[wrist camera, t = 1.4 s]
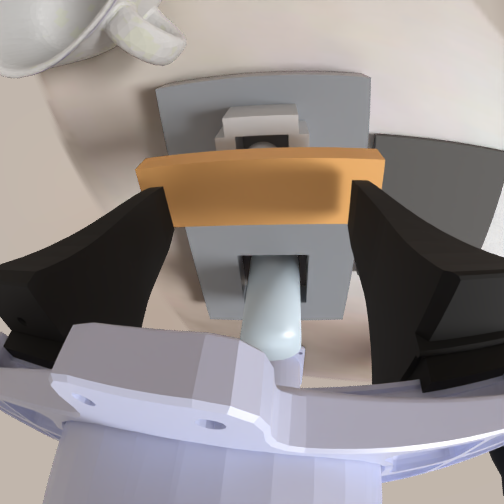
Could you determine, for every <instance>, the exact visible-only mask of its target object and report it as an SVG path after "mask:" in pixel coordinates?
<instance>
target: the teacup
mask: <svg viewBox="0 0 504 504" xmlns="http://www.w3.org/2000/svg"><path fill="white" fill-rule="evenodd" d="M161 1H162V0H0V75H1V76H3V77H4V76H5V77H8V78H22V77H26V76H31V75H35V74H38V73H40V72H43V71H45V70H47V69H49V68H52V67H57V66H61V65H66V64H70V63H74V62H77V61H81V60H85V59H88V58H91V57H94V56H97V55H99V54H102V53H104V52H106V51H108V50H110V49H112V48H114V47H116V46H119V47H120V48H121V49H123V50H124V51H126V52H127V53H129V54H130V55H132V56H134V57H136V58H138V59H140V60H142V61H144V62H147V63H150V64H153V65H161V66H164V65H167V64H170V63H171V62H173V61H174V60H175V59H176V58H177V57H178V56H179V55H180V54H181V52H182V51H183V50H184V48H185V46H186V38H185V36H184V34H183V33H182V32H181V31H180V30H179V28H178V27H177V26H176V25H174V24H173V23H172V22H171V21H170V20H169V19H168V18H166V17H165V16H164V15H163V14H162V12H161V11H160V10H159V9H158V6H159V4H160V3H161Z"/></svg>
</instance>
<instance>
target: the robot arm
mask: <svg viewBox="0 0 504 504" xmlns="http://www.w3.org/2000/svg"><path fill="white" fill-rule="evenodd" d="M347 226H348V232H349V239H350V245H351V249H352V253H353V256H354V260H355V263H356V266H357V270H358V273H359V277H360V280H361V284H362V288H363V291H364V296H365V300H366V306H367V314H368V322H369V331H370V342H371V358H372V385H362V386H348V387H327V388H300V385H301V383H302V375H303V366H304V356H305V347H303V346H301V349H300V350H299V352H298V353H297V354H295V355H294V356H292V357H290V358H287V359H284V360H277V361H269V359H268V358H267V356H266V355H265V353H264V352H262V351H261V350H260V349H258V348H256V347H254V346H252V345H250V344H248V343H246V342H244V341H242V340H240V339H239V338H235V337H230V336H224V335H219V334H214V333H209V332H192V331H176V330H163V329H149V328H142V323H143V319H144V314H145V311H146V307H147V303H148V300H149V297H150V294H151V291H152V289H153V286H154V284H155V282H156V279H157V277H158V274H159V272H160V270H161V267H162V265H163V263H164V260H165V258H166V255H167V253H168V251H169V248H170V244H171V241H172V236H173V232H174V226H173V222H172V218H171V214H170V211H169V207H168V203H167V199H166V195H165V191H164V188H163V186H162V187H151V188H148V189H145V190H143V191H141V192H140V193H138V194H136V195H135V196H133V197H131V198H130V199H128V200H127V201H125V202H124V203H122V204H121V205H119V206H118V207H116V208H115V209H113V210H112V211H110V212H109V213H107V214H106V215H104V216H103V217H101V218H99V219H98V220H96V221H95V222H93V223H92V224H90V225H88V226H87V227H85V228H84V229H82V230H80V231H78V232H76V233H75V234H73V235H71V236H69V237H67V238H65V239H63V240H61V241H59V242H57V243H55V244H53V245H51V246H49V247H46V248H44V249H42V250H40V251H37V252H34V253H32V254H29V255H27V256H24V257H22V258H18V259H15V260H13V261H9V262H6V263H3V264H1V265H0V317H1V318H2V319H3V321H4V322H5V323H6V324H7V325H8V327H9V328H10V329H11V330H12V331H11V333H10V334H9V336H7V335H5V334H4V333H2V332H0V410H1V411H3V412H4V413H6V414H8V415H10V416H11V417H13V418H15V419H17V420H19V421H20V422H22V423H24V424H26V425H28V426H30V427H32V428H34V429H35V430H37V431H39V432H41V433H43V434H45V435H47V436H49V437H51V438H53V439H56V440H58V441H59V445H58V448H57V451H56V455H55V458H54V461H53V465H52V468H51V472H50V476H49V479H48V483H47V488H46V491H45V496H44V500H43V504H382V483H384V482H390V481H395V480H399V479H404V478H408V477H412V476H416V475H420V474H424V473H427V472H431V471H434V470H438V469H441V468H444V467H447V466H450V465H453V464H457V463H459V462H462V461H465V460H468V459H471V458H473V457H476V456H479V455H481V454H484V453H486V452H489V451H491V450H494V449H496V448H499V447H501V446H504V257H501V256H498V255H495V254H492V253H489V252H486V251H484V250H481V249H479V248H477V247H474V246H472V245H470V244H467V243H465V242H463V241H461V240H459V239H457V238H455V237H453V236H451V235H449V234H447V233H445V232H443V231H441V230H440V229H438V228H436V227H435V226H433V225H431V224H430V223H428V222H426V221H425V220H423V219H421V218H420V217H418V216H417V215H415V214H414V213H413V212H411V211H410V210H408V209H407V208H405V207H404V206H403V205H401V204H400V203H399V202H397V201H396V200H395V199H393V198H392V197H391V196H389V195H388V194H387V193H385V192H384V191H383V190H381V189H380V188H379V187H377V186H376V185H374V184H373V183H371V182H370V181H368V180H352V185H351V196H350V206H349V216H348V225H347Z"/></svg>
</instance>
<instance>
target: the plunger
mask: <svg viewBox="0 0 504 504" xmlns="http://www.w3.org/2000/svg"><path fill="white" fill-rule="evenodd" d="M384 167H385V159H384V157H383V156H382V155H381V153H380V152H379V151H378V149H369V148H342V147H282V148H277V147H276V146H275V145H273V144H271V143H269V142H257V143H255V144H253V145H252V146H250V147H249V149H236V150H221V151H208V152H197V153H186V154H177V155H168V156H160V157H152V158H146V159H145V160H144V161H143V162H142V163H141V164H140V165H139V166H138V167H137V168H136V169H135V171H136V175H137V178H138V182H139V185H140V189H141V191H143V190H145V189H148V188H151V187H162V186H163V188H164V191H165V195H166V199H167V203H168V207H169V211H170V214H171V218H172V222H173V226H174V227H196V226H230V225H280V224H348V216H349V206H350V196H351V185H352V180H368V181H370V182H371V183H373V184H374V185H376V186H377V187H379V188H380V189H381V190H382V183H383V175H384Z"/></svg>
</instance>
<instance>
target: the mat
mask: <svg viewBox="0 0 504 504" xmlns="http://www.w3.org/2000/svg"><path fill="white" fill-rule="evenodd" d="M374 149H378V151H379V152H380V153H381V155H382V156H383V157H384V159H385V167H384V175H383V183H382V190H383V191H384V192H385V193H387V194H388V195H389V196H391V197H392V198H393V199H395V200H396V201H397V202H399V203H400V204H401V205H403V206H404V207H405V208H407V209H408V210H410V211H411V212H413V213H414V214H415V215H417V216H418V217H420V218H421V219H423V220H425V221H426V222H428V223H430V224H431V225H433V226H435V227H436V228H438V229H440V230H441V231H443V232H445V233H447V234H449V235H451V236H453V237H455V238H457V239H459V240H461V241H463V242H465V243H467V244H470V245H472V246H474V247H477V248H479V249H481V247H482V245H483V242H484V240H485V237H486V235H487V232H488V229H489V227H490V224H491V221H492V218H493V216H494V213H495V210H496V207H497V204H498V200H499V197H500V194H501V191H502V187H503V184H504V151H501V150H496V149H491V148H486V147H481V146H475V145H469V144H463V143H457V142H450V141H443V140H435V139H427V138H418V137H408V136H397V135H385V134H375V138H374ZM357 275H359V273H358V270H357Z"/></svg>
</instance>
